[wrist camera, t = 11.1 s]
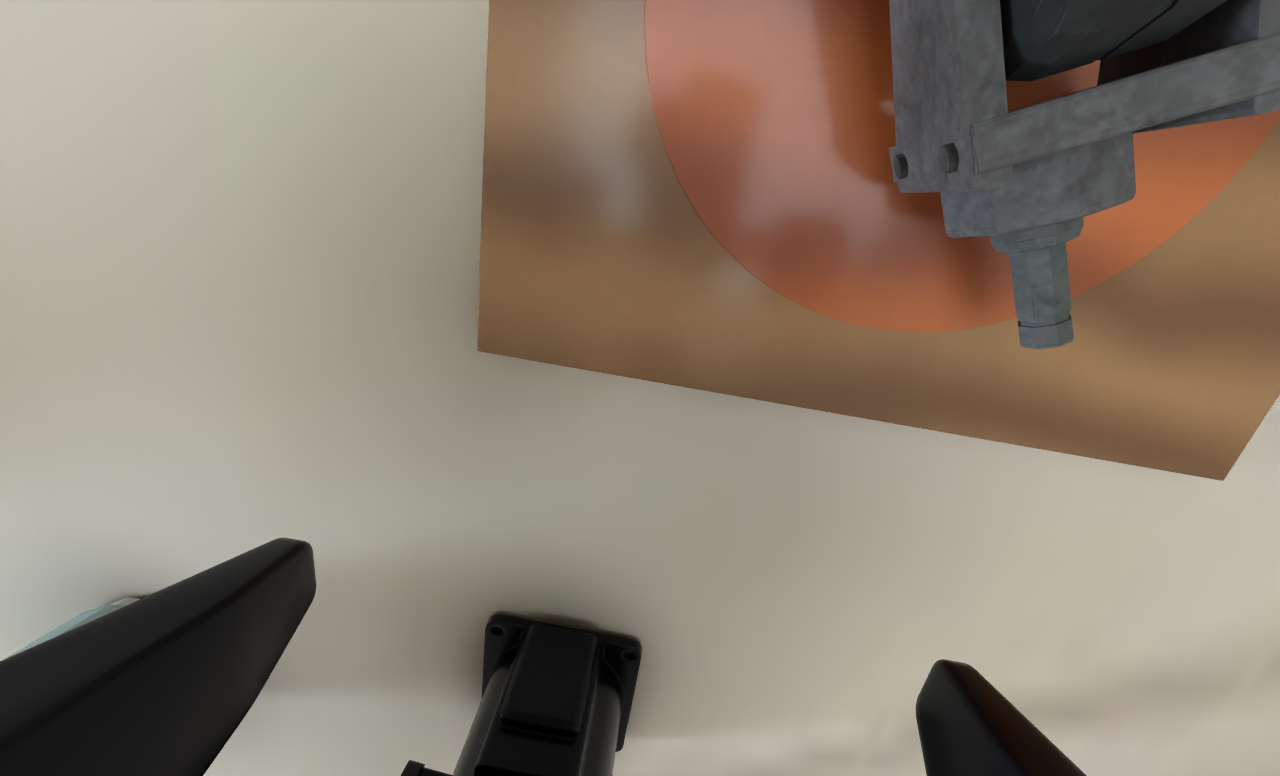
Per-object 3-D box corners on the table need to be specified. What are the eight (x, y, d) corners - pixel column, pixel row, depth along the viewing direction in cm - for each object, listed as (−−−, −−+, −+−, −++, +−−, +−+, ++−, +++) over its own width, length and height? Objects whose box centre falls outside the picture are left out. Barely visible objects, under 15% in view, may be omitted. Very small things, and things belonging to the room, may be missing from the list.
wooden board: (1203, 468, 19) (1228, 484, 18) (484, 343, 20) (473, 353, 19) (1871, -596, 10) (1982, -666, 9) (529, -754, 11) (514, -833, 10)
